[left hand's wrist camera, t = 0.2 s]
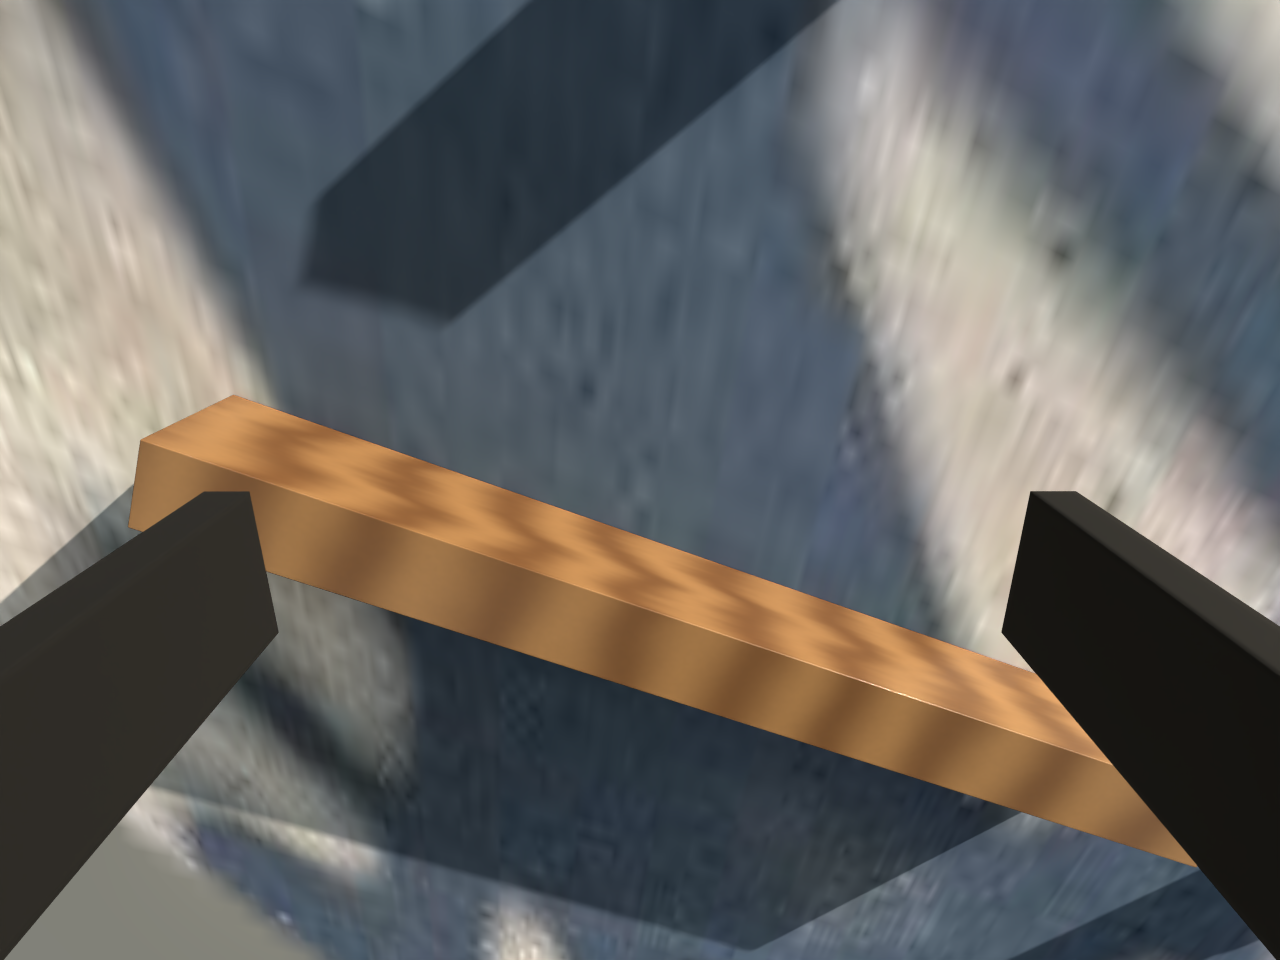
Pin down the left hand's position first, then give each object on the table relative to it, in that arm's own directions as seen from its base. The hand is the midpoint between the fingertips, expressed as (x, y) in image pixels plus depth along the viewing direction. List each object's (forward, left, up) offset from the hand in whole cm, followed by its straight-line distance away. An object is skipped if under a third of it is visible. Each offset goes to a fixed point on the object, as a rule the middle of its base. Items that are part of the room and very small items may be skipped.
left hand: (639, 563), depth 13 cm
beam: (+17, +6, -28) cm, 33 cm away
